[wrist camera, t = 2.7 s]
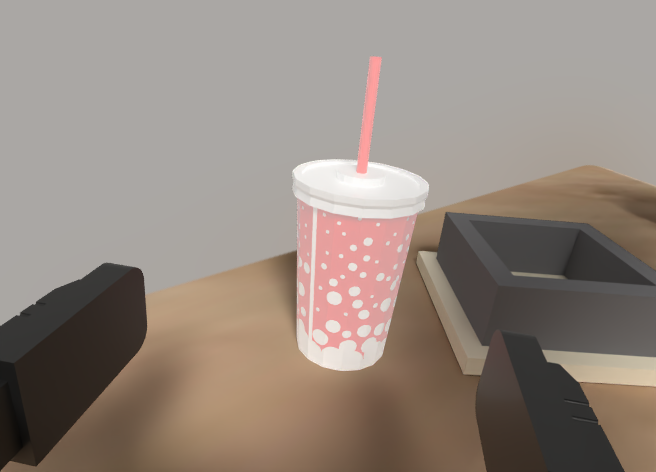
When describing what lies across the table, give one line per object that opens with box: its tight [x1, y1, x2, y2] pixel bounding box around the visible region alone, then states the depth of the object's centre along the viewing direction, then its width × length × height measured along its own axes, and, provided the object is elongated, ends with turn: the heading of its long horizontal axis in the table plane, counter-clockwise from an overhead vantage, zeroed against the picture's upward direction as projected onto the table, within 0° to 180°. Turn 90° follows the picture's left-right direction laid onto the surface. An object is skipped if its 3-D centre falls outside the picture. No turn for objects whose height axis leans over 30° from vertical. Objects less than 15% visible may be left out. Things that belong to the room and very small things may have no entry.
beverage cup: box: [292, 56, 429, 371], centre depth 21 cm, size 6×6×14 cm
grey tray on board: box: [416, 212, 656, 387], centre depth 27 cm, size 12×12×4 cm
